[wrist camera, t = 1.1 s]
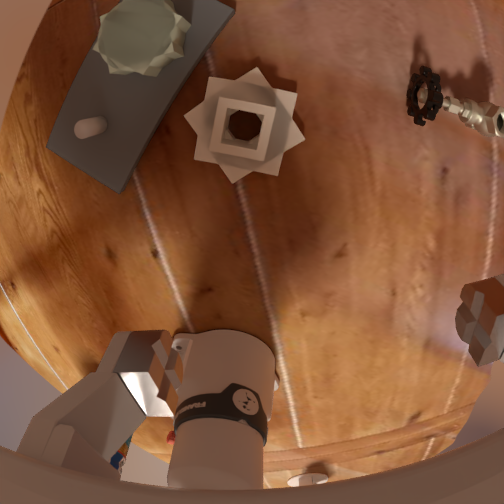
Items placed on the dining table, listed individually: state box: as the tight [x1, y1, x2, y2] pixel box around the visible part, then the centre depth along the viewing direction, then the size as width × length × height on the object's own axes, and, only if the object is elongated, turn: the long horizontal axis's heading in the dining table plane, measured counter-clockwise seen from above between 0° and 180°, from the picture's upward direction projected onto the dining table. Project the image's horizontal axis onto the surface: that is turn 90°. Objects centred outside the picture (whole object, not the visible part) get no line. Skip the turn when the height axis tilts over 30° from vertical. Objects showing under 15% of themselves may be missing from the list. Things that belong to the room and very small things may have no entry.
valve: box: [407, 66, 504, 138], centre depth 27 cm, size 7×7×12 cm
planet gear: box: [184, 67, 305, 184], centre depth 30 cm, size 13×13×5 cm
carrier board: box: [46, 0, 235, 194], centre depth 27 cm, size 24×12×6 cm, turn 146°
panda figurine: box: [287, 473, 328, 487], centre depth 64 cm, size 12×11×15 cm
